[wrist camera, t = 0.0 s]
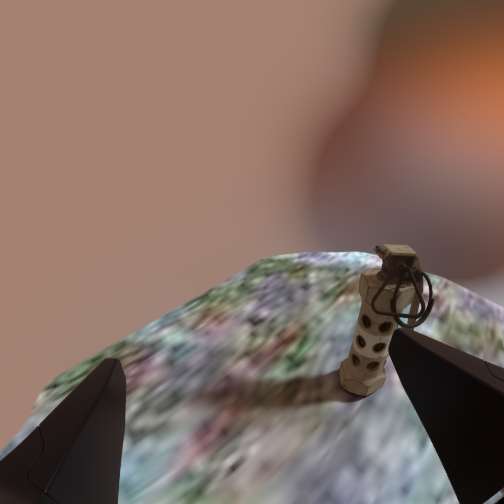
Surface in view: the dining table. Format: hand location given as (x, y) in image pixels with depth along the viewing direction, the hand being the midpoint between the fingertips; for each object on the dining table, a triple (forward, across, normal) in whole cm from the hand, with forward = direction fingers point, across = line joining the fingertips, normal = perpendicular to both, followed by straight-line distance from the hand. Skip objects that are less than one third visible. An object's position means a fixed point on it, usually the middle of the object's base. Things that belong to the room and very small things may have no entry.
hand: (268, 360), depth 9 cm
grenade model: (+11, -14, +17) cm, 24 cm away
